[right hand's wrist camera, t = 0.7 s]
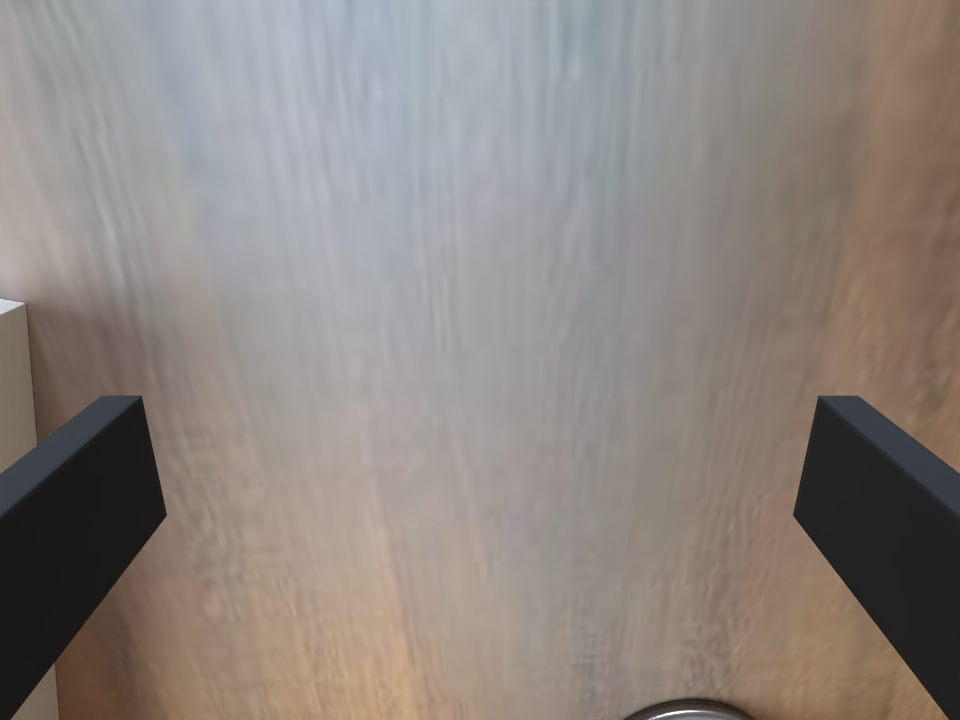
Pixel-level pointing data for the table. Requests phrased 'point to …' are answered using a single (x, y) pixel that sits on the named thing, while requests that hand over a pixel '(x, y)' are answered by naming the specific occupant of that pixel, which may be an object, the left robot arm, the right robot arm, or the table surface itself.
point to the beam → (21, 454)
